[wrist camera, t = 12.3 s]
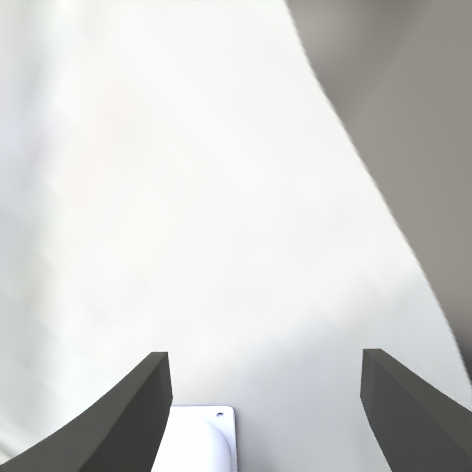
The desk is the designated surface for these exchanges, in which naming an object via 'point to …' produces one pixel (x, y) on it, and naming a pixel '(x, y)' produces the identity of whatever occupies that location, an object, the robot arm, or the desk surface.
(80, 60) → the desk surface
